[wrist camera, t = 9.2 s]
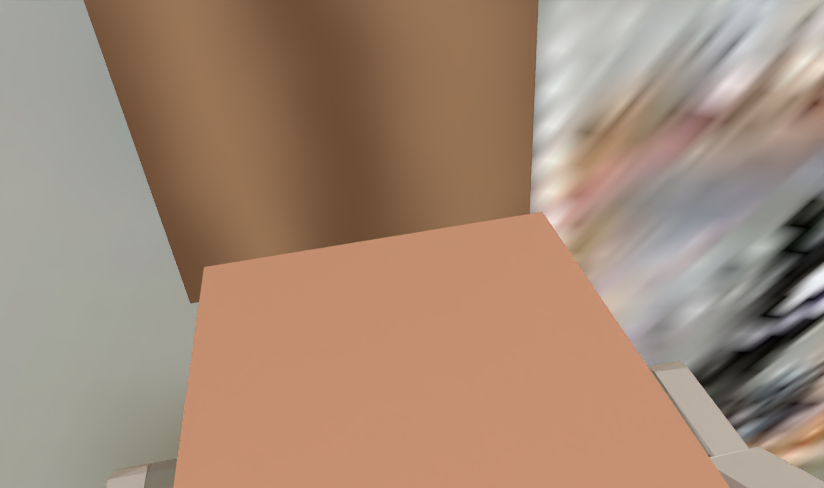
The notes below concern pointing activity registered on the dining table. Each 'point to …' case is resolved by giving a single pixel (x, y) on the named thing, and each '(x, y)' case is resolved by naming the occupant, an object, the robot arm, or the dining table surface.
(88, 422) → the dining table surface
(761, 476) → the robot arm
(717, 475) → the terracotta block
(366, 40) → the walnut block
